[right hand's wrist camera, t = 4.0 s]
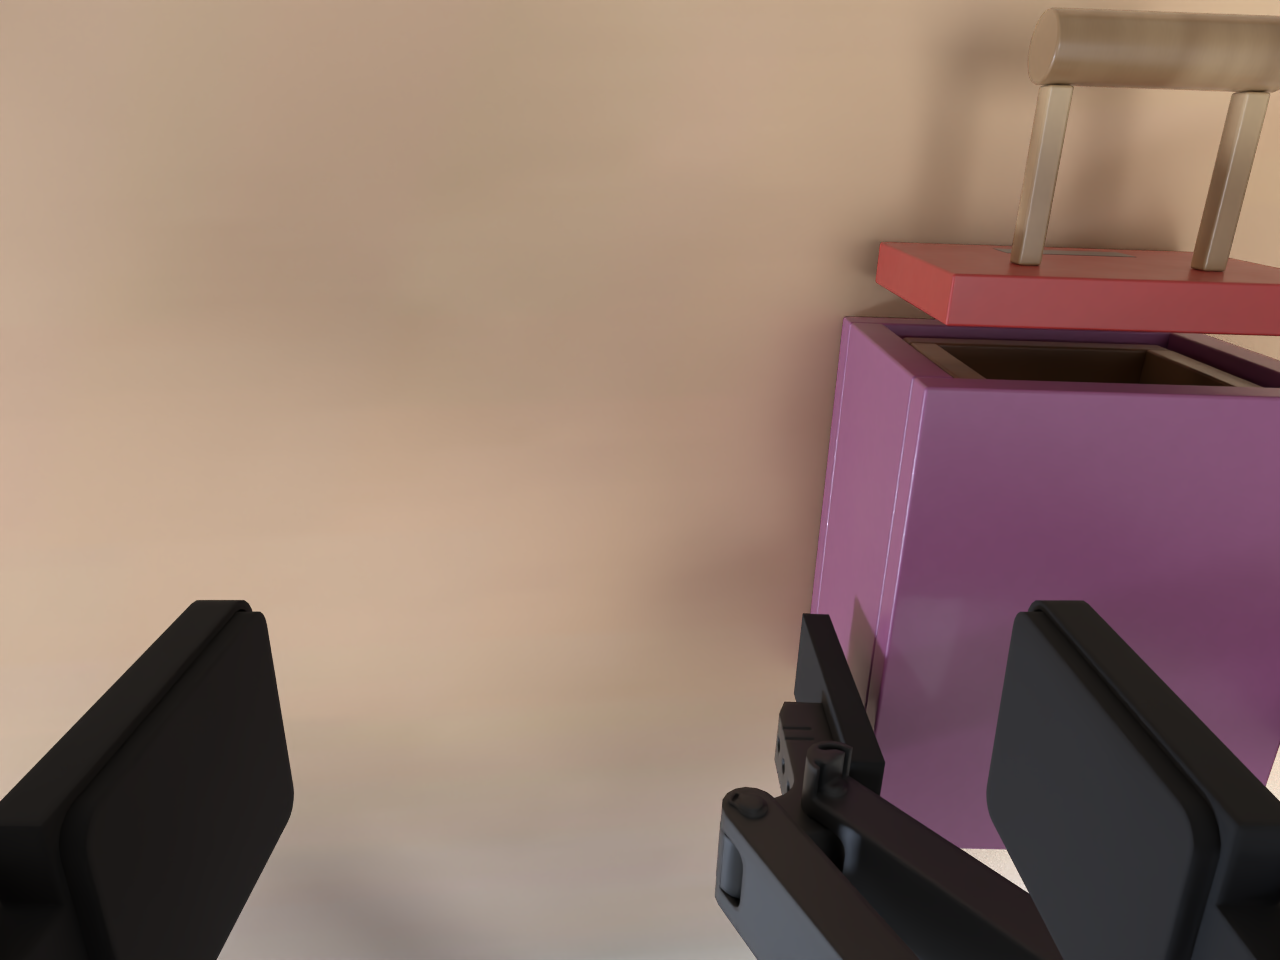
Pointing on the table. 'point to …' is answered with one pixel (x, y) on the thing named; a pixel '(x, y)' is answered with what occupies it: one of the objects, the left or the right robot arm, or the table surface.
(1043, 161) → the drawer
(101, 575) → the table surface
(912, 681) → the cabinet
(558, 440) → the table surface
